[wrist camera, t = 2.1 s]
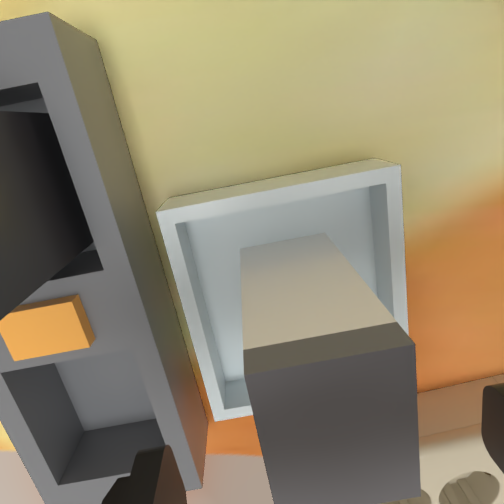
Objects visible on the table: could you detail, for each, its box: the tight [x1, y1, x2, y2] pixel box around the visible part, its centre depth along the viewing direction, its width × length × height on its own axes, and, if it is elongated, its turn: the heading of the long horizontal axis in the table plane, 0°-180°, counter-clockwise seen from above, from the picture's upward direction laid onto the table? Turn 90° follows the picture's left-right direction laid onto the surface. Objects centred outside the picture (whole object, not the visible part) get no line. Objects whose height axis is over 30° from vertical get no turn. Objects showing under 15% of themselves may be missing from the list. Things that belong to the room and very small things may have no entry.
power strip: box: [0, 12, 208, 504], centre depth 13 cm, size 20×8×10 cm, turn 11°
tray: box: [156, 158, 409, 422], centre depth 17 cm, size 10×11×3 cm
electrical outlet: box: [380, 374, 504, 504], centre depth 21 cm, size 7×4×18 cm
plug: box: [240, 233, 421, 504], centre depth 13 cm, size 4×5×9 cm
